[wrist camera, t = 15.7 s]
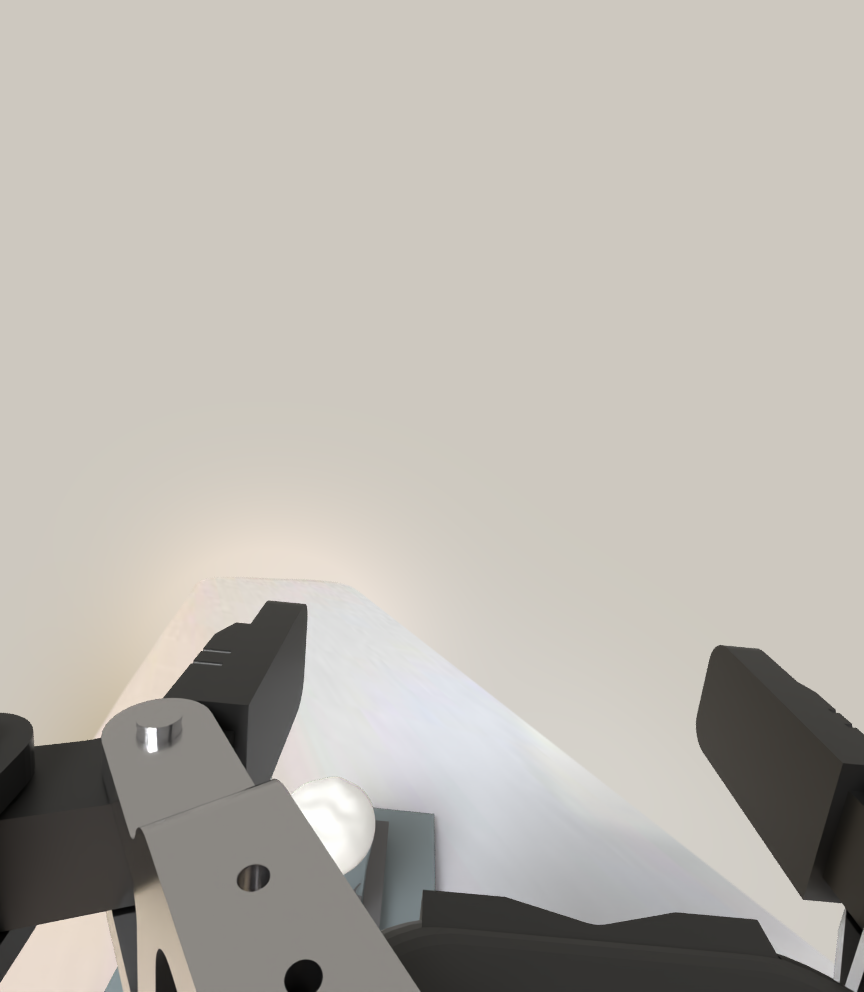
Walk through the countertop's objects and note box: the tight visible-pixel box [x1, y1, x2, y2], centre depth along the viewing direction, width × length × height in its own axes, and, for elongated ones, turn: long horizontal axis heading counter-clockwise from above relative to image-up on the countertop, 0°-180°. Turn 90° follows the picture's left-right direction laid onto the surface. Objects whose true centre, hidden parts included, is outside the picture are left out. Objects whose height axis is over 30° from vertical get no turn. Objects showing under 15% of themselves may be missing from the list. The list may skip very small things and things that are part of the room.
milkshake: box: [271, 777, 375, 901], centre depth 29 cm, size 5×5×10 cm
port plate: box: [104, 808, 435, 992], centre depth 33 cm, size 15×14×2 cm
